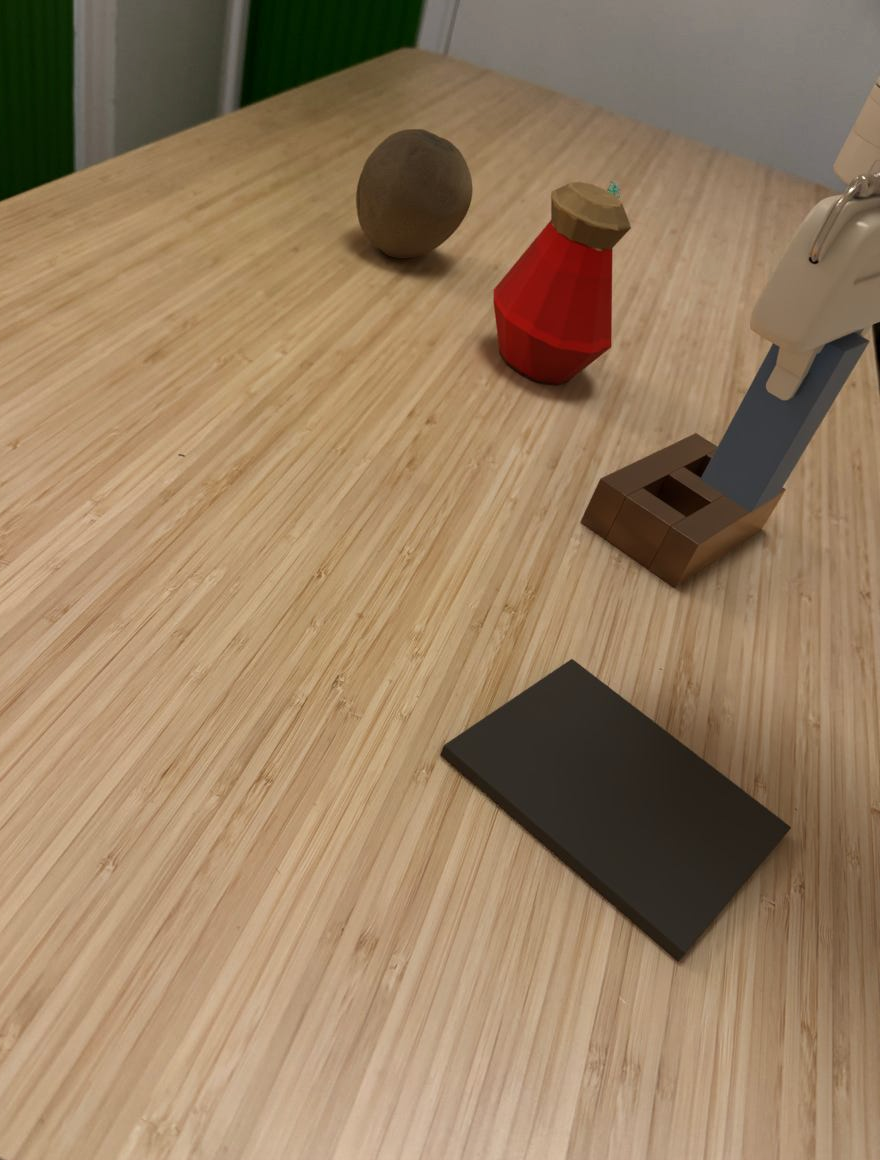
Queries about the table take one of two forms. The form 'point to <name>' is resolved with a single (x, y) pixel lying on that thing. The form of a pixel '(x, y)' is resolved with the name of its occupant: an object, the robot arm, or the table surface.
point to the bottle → (562, 288)
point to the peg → (778, 426)
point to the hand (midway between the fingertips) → (798, 385)
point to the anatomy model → (613, 189)
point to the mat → (620, 802)
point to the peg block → (671, 512)
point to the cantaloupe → (413, 193)
